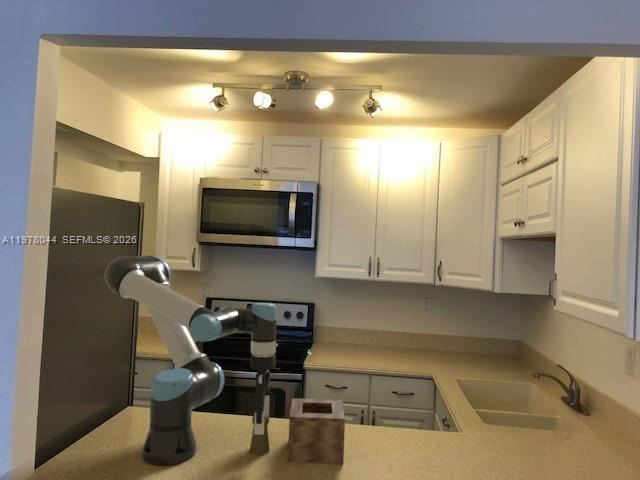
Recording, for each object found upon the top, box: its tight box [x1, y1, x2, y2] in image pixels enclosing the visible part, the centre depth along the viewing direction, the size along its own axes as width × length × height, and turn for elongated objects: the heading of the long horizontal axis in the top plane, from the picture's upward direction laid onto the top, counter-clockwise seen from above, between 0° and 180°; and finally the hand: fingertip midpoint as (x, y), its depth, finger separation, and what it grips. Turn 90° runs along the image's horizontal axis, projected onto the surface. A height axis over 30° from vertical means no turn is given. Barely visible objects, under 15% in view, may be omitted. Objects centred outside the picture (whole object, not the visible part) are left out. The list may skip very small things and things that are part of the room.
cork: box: [249, 413, 270, 456], centre depth 137 cm, size 6×6×11 cm
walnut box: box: [287, 397, 346, 465], centre depth 139 cm, size 16×16×13 cm
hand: (261, 424), depth 137 cm, fingers open, 13 cm apart
